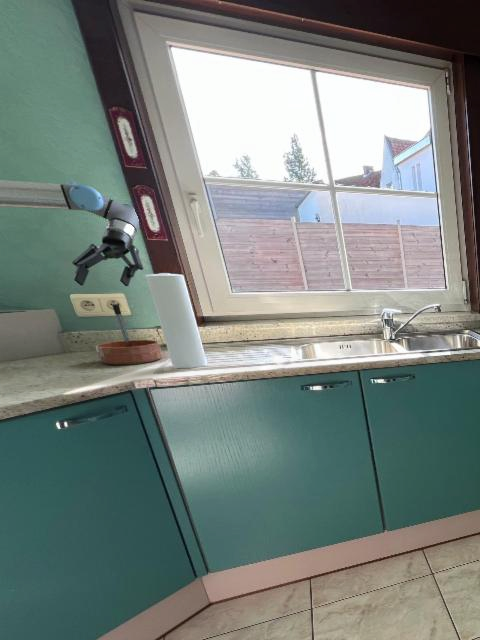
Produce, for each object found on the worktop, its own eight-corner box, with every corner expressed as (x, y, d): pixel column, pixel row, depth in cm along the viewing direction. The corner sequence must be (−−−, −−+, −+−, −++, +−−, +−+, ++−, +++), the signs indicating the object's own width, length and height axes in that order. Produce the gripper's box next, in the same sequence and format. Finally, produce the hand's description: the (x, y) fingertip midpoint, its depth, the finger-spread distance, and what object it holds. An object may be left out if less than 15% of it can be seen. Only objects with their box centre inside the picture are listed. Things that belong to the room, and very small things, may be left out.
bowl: (97, 367, 163) (90, 349, 160) (107, 358, 175) (101, 341, 173) (160, 362, 171) (155, 345, 169) (165, 354, 183) (161, 338, 181)
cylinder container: (208, 361, 175) (184, 272, 164) (206, 366, 168) (181, 274, 157) (174, 363, 170) (147, 272, 159) (171, 369, 163) (142, 274, 152)
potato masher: (117, 361, 168) (98, 305, 161) (121, 357, 174) (103, 303, 167) (144, 359, 172) (127, 305, 165) (147, 356, 177) (130, 303, 170)
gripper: (165, 246, 181) (150, 291, 173) (87, 243, 178) (68, 290, 169) (150, 229, 175) (134, 276, 166) (70, 227, 171) (49, 274, 163)
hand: (101, 283), depth 168 cm, fingers open, 13 cm apart
